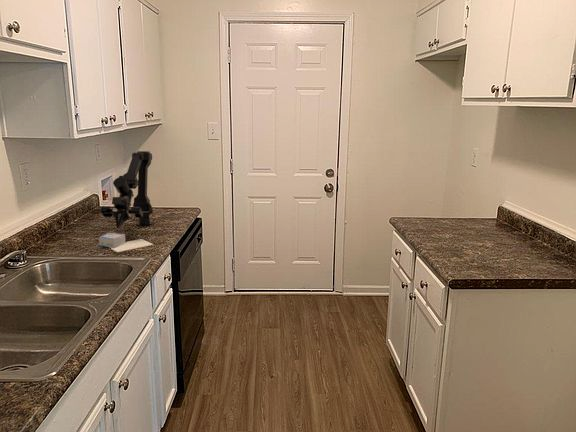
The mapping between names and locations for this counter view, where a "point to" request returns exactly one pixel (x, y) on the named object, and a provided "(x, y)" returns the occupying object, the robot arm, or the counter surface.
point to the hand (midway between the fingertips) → (117, 227)
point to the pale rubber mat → (131, 245)
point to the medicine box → (112, 240)
